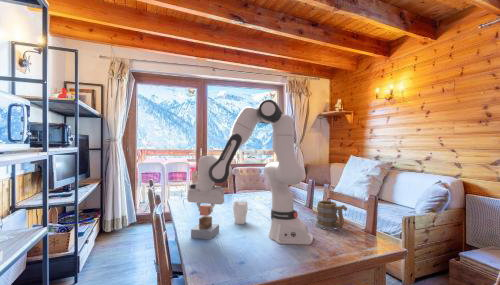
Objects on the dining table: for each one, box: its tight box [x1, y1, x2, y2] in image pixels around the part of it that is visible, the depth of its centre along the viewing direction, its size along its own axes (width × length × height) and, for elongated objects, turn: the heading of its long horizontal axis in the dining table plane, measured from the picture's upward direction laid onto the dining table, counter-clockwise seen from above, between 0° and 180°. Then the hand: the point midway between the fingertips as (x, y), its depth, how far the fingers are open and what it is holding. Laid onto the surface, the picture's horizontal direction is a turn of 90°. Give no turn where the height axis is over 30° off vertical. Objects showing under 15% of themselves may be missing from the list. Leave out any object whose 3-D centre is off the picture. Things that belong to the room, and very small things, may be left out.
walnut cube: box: [198, 215, 213, 229], centre depth 125 cm, size 5×5×5 cm
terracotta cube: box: [199, 204, 212, 217], centre depth 126 cm, size 4×4×4 cm
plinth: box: [190, 223, 220, 240], centre depth 125 cm, size 11×11×4 cm
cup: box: [232, 200, 249, 225], centre depth 146 cm, size 9×9×12 cm
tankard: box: [315, 200, 348, 230], centre depth 137 cm, size 20×13×15 cm, turn 27°
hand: (205, 211), depth 126 cm, fingers closed on terracotta cube, 4 cm apart
